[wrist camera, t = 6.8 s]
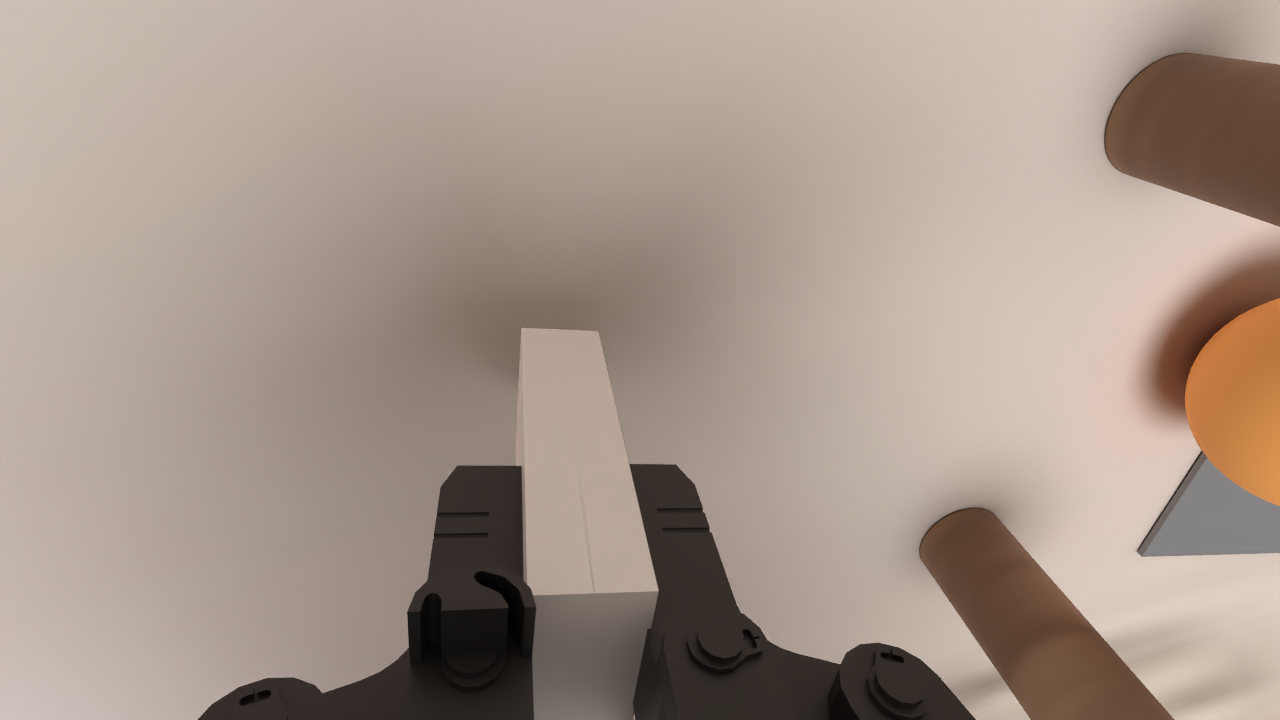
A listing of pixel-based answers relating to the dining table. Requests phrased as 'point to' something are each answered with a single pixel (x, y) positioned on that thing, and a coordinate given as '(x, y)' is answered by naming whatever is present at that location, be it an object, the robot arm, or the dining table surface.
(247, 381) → the dining table surface
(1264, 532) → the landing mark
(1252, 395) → the ball
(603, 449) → the robot arm
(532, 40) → the dining table surface
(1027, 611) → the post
